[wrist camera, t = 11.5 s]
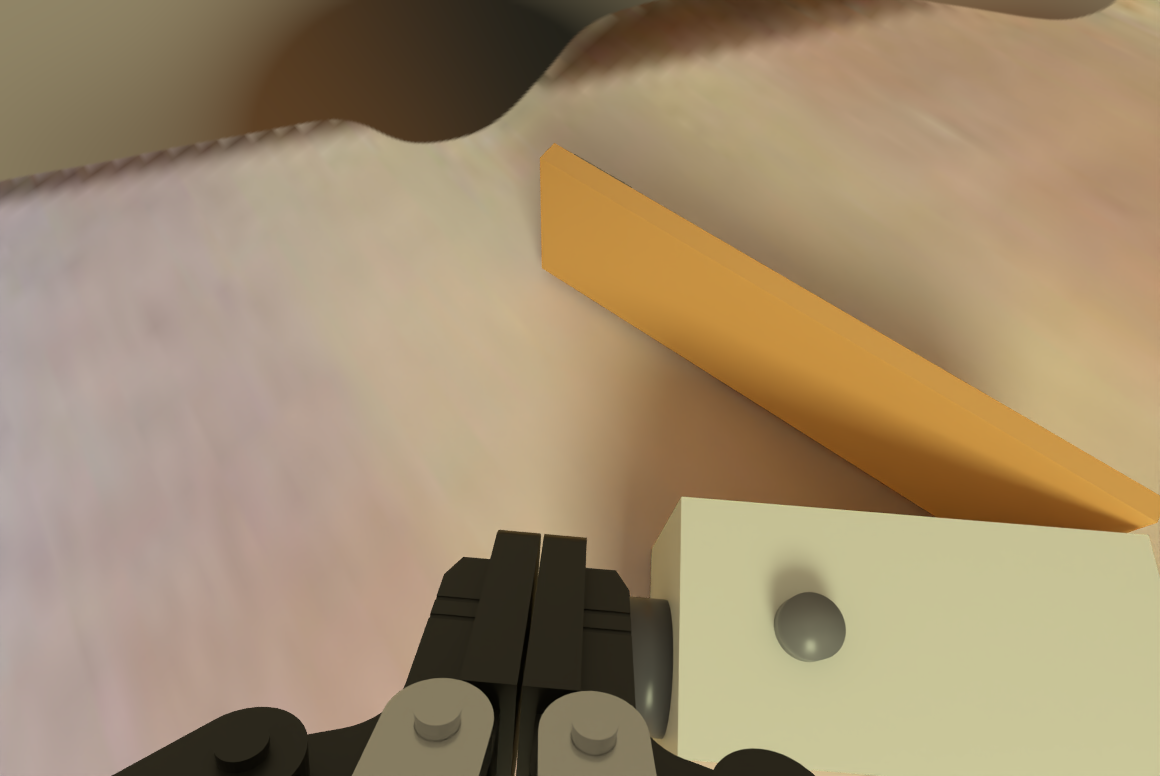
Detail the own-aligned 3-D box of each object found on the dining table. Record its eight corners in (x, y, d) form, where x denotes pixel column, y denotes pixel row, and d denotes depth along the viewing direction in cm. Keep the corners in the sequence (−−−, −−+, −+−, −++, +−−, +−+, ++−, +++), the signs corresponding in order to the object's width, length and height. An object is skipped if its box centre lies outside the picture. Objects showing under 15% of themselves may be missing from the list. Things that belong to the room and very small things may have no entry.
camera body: (1013, 578, 32) (1166, 529, 24) (1049, 784, 29) (1241, 805, 21) (620, 546, 32) (643, 486, 24) (609, 748, 29) (632, 756, 21)
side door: (1033, 536, 32) (1172, 481, 25) (1018, 569, 32) (1157, 522, 25) (562, 245, 38) (565, 131, 31) (541, 267, 37) (539, 157, 30)
